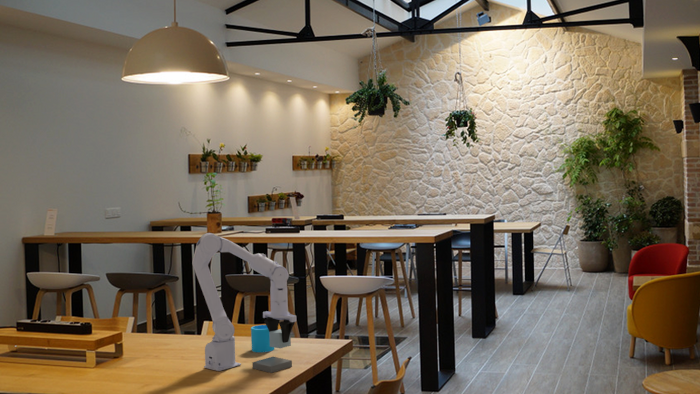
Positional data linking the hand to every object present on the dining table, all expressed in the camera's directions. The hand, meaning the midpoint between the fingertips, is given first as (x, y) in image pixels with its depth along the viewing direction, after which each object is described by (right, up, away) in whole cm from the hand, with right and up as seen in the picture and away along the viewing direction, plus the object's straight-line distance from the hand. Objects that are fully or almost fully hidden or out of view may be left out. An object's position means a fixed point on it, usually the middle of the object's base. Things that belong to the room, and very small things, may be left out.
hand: (279, 341), depth 225 cm
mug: (-8, -7, +18) cm, 21 cm away
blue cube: (0, -2, 0) cm, 2 cm away
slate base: (-2, -7, -9) cm, 11 cm away
